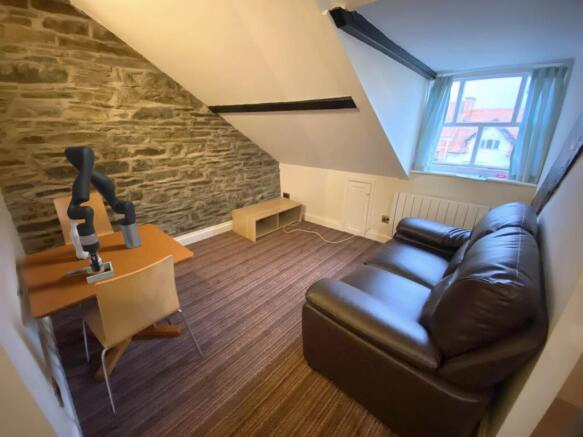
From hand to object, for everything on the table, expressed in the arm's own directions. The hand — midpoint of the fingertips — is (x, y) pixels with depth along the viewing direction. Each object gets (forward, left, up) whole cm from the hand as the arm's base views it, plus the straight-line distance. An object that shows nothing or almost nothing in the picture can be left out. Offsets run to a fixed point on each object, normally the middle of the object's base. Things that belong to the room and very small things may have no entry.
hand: (97, 268), depth 136 cm
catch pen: (0, 0, -5) cm, 5 cm away
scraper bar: (+9, -9, -5) cm, 14 cm away
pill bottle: (0, 0, -2) cm, 2 cm away
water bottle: (+6, -29, -5) cm, 30 cm away
